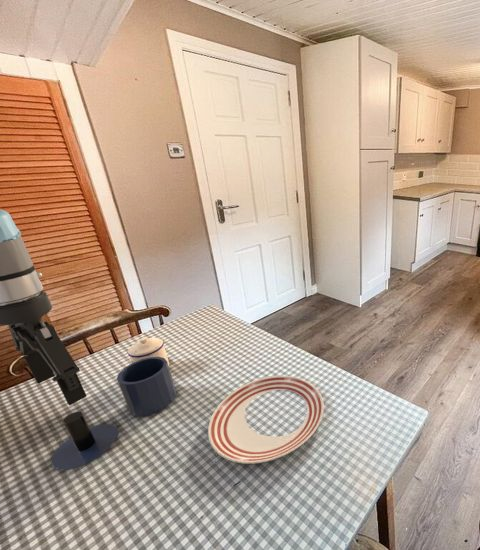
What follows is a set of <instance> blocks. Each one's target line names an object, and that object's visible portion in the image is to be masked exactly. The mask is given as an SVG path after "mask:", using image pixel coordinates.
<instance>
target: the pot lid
mask: <svg viewBox="0 0 480 550" xmlns="http://www.w3.org/2000/svg"><path fill="white" fill-rule="evenodd" d="M62 423H63V425H64V427H65V429H66V431H67V434H68V435H69V438H68V439H67V440H65V441H64V442H63V443H62V444H61V445H59V446H58V448H57V449H56V450H55V451H54V453H53V455H52V457H51V462H50V463H51V465H52V467H53V468H54V469H56V470H59V471H60V470H61V471H66V470H72V469H76V468H79V467H82V466H84V465H86V464H89V463H90V462H92V461H94V460H95V459H97V458H99V457H100V456H102V455H103V454H105V452H106V451H108V450H109V449H110V448H111V447H112V446H113V445H114V443H115V442H116V440H117V439H118V436H119V429H118V427H117V426H115V425H114V424H110V423H109V424H108V423H103V424H102V423H101V424H97V425H92V426H89V424H88V421H87V420H86V418H85V415H84V413H83V412H82V411H74V412H72V413H69V414H68V415H66V416H65V417H63V420H62Z"/></svg>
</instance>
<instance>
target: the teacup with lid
mask: <svg viewBox="0 0 480 550" xmlns="http://www.w3.org/2000/svg"><path fill="white" fill-rule="evenodd" d="M165 348H166V347H165V342H164V340H163V339H161V338H160V337H149V338H148V337H146V336H145V337H141V338H140V339H139V341H136V342H134V343H133V344H132V345H131V346H129V348H128V350H127V355H128V356H129V358H130V361H131V363H134V362H136V361H139V360H141V359H145V358H149V357H162V358H165V359H166V361H167V362H168V366H169V367H170V361H169V358H168V355H167V351H166V349H165Z"/></svg>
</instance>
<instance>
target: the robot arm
mask: <svg viewBox="0 0 480 550" xmlns="http://www.w3.org/2000/svg"><path fill="white" fill-rule="evenodd" d="M42 277H43V274H42V273H41V271H40V272H37V270H36V267H35V266H34V263H33V261H32V258H31V256H30V253H29V251H28V249H27V246H26V243H25V242H24V239H23V237H22V235H21V230H20V229H19V228H18V227H17V225H16V224H15V222H14V220H13V218H12V216H11V214H10V213H9V212H8V211H6V210H4V209H0V326H8V329H9V332H10V335H11V337H12V341H13V345H14V347H15V350H16V351H18V352H20V355H21V356H22V357H23V359H24V360H25V363H26V364H27V367H28V368H29V370H30V372H31V374H32V376H33V378H34V380H35V381H36V383H37V384H41V383H43V382H45V381H47V380H49V379H52V381H53V382H56V383H57V385H58V387H59V389H60V391H61V393H62V395H63V397H64V399H65V401H66V403H67V405H68V406H72V405H75V403H77V402H79V401H81V400H82V399H85V398H86V397H87V393H86V391H85V389H84V387H83V385H82V383H81V380H80V378H79V376H78V372H80V370H81V369H80V366H78V365H77V363H76V362H75V360H74V359H73V357H72V355H71V354H70V352H69V350H68V349H67V348H66V346H65V345H64V343H63V341H62V340H61V339H60V336H59V335H58V332H57V331H56V330H55V326H54V325H53V324H49V322H47V321H44V320H43V319H42V318H43V317H44V316H45V315H47V314H49V313H50V312H51V311H52V309H53V305H52V303H51V301H50V299H49V296H48V294H47V292H45V291H43V289H44V287H43V283H42V282H41V280H40V278H42Z"/></svg>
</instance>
